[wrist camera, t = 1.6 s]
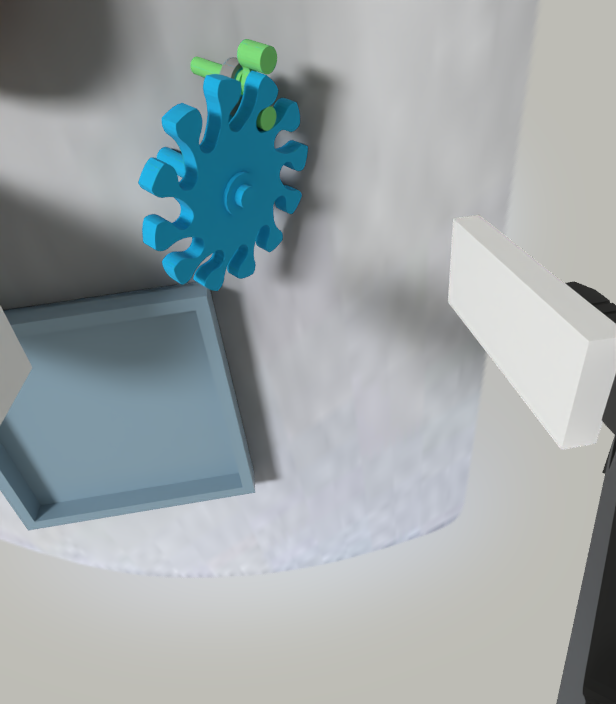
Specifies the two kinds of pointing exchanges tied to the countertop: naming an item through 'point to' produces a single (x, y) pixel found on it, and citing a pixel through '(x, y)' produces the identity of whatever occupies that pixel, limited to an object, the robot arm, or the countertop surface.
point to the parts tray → (122, 408)
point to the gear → (225, 170)
